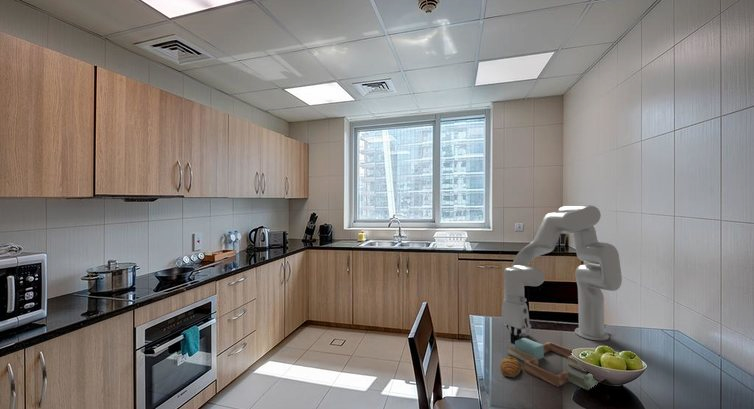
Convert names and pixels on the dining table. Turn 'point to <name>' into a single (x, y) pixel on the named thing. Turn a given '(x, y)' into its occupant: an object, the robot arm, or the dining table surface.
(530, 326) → the die
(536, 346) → the teal block
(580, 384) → the wooden zigzag track
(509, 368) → the pastry
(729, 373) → the dining table surface
